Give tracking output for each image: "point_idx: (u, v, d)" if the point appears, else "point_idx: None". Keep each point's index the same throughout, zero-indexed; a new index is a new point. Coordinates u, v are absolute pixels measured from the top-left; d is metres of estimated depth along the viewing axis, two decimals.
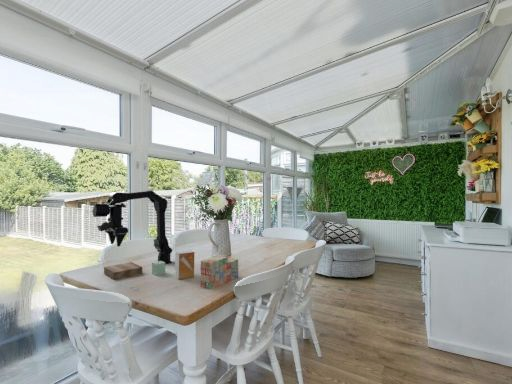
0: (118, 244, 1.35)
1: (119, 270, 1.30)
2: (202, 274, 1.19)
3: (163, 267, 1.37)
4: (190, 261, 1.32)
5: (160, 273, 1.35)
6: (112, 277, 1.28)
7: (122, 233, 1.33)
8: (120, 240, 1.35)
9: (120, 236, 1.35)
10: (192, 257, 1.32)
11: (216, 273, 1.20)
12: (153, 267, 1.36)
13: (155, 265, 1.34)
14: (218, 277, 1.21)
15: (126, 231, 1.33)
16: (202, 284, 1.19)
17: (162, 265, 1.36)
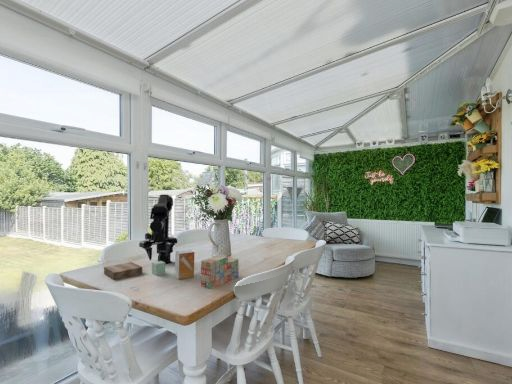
0: (149, 258, 1.34)
1: (119, 270, 1.30)
2: (203, 274, 1.19)
3: (163, 267, 1.37)
4: (190, 261, 1.32)
5: (160, 273, 1.35)
6: (112, 277, 1.28)
7: None
8: (148, 254, 1.33)
9: None
10: (192, 257, 1.32)
11: (216, 272, 1.20)
12: (153, 267, 1.36)
13: (155, 265, 1.34)
14: (218, 277, 1.21)
15: (143, 246, 1.29)
16: (202, 284, 1.19)
17: (162, 265, 1.36)
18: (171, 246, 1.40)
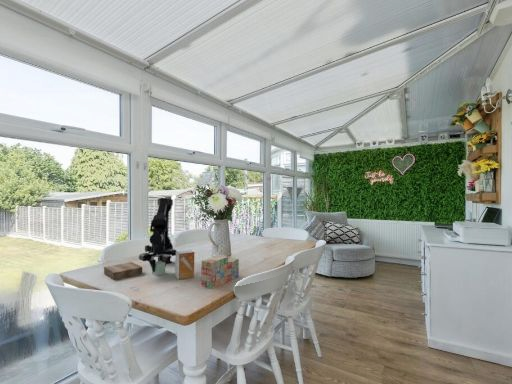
0: (152, 269, 1.35)
1: (119, 270, 1.30)
2: (203, 274, 1.19)
3: (163, 267, 1.37)
4: (190, 261, 1.32)
5: (160, 273, 1.36)
6: (112, 277, 1.28)
7: None
8: (152, 266, 1.34)
9: (152, 262, 1.34)
10: (192, 257, 1.32)
11: (217, 272, 1.20)
12: None
13: (155, 265, 1.34)
14: (219, 277, 1.21)
15: (142, 259, 1.29)
16: (203, 284, 1.19)
17: (162, 265, 1.36)
18: (168, 259, 1.38)
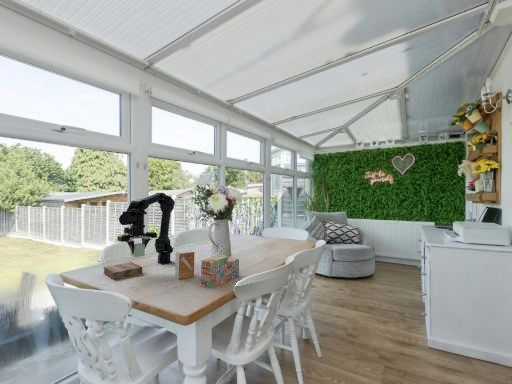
0: (131, 251, 1.34)
1: (119, 270, 1.30)
2: (203, 273, 1.20)
3: (142, 249, 1.36)
4: (190, 261, 1.32)
5: (139, 255, 1.35)
6: (112, 277, 1.28)
7: None
8: (130, 247, 1.34)
9: None
10: (192, 257, 1.32)
11: (217, 272, 1.21)
12: None
13: (134, 246, 1.34)
14: (219, 277, 1.22)
15: (121, 240, 1.28)
16: (203, 283, 1.20)
17: (141, 247, 1.36)
18: (147, 241, 1.38)
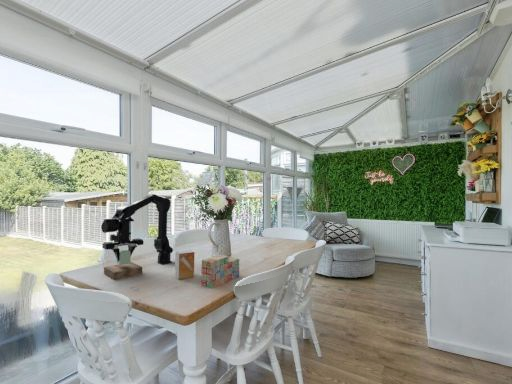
0: None
1: (119, 270, 1.30)
2: (203, 273, 1.20)
3: (128, 256, 1.36)
4: (190, 261, 1.32)
5: (125, 262, 1.35)
6: (112, 277, 1.28)
7: None
8: (116, 255, 1.33)
9: (116, 251, 1.33)
10: (192, 257, 1.32)
11: (217, 272, 1.21)
12: None
13: (119, 254, 1.34)
14: (219, 276, 1.22)
15: (105, 247, 1.28)
16: (203, 283, 1.20)
17: (127, 254, 1.35)
18: (133, 248, 1.38)
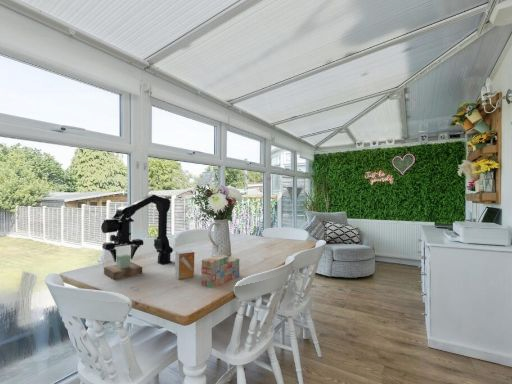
0: None
1: (119, 270, 1.30)
2: (203, 273, 1.20)
3: (128, 260, 1.36)
4: (190, 261, 1.32)
5: (124, 266, 1.35)
6: (112, 277, 1.28)
7: None
8: (113, 256, 1.32)
9: (113, 252, 1.32)
10: (192, 257, 1.32)
11: (217, 272, 1.21)
12: (117, 260, 1.35)
13: (119, 258, 1.34)
14: (219, 276, 1.22)
15: (105, 248, 1.28)
16: (203, 283, 1.21)
17: (126, 258, 1.35)
18: (136, 248, 1.39)
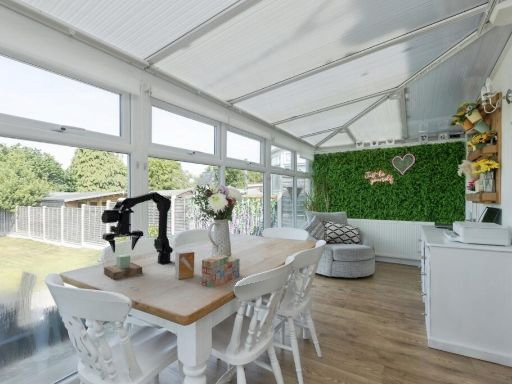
0: (112, 250, 1.33)
1: (119, 270, 1.30)
2: (203, 273, 1.21)
3: (128, 260, 1.36)
4: (190, 261, 1.32)
5: (124, 266, 1.35)
6: (112, 277, 1.28)
7: None
8: (112, 247, 1.32)
9: (112, 242, 1.32)
10: (192, 257, 1.32)
11: (217, 271, 1.21)
12: (117, 260, 1.35)
13: (119, 258, 1.34)
14: (219, 276, 1.23)
15: (105, 238, 1.28)
16: (203, 283, 1.21)
17: (126, 258, 1.35)
18: (137, 239, 1.39)
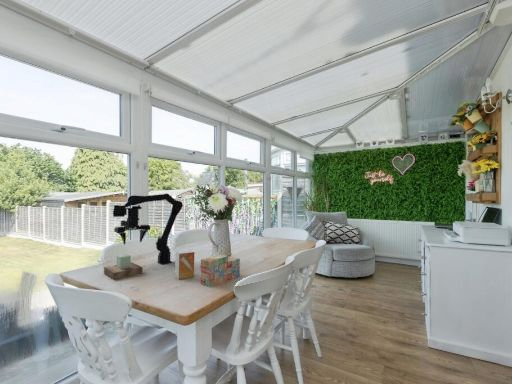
0: (123, 242, 1.49)
1: (119, 270, 1.30)
2: (202, 272, 1.22)
3: (128, 260, 1.36)
4: (190, 261, 1.32)
5: (125, 266, 1.35)
6: (112, 277, 1.28)
7: None
8: (122, 238, 1.48)
9: None
10: (192, 257, 1.32)
11: (215, 271, 1.22)
12: (118, 260, 1.35)
13: (119, 258, 1.34)
14: (218, 276, 1.23)
15: (117, 231, 1.44)
16: (202, 282, 1.22)
17: (127, 259, 1.35)
18: (144, 232, 1.55)
